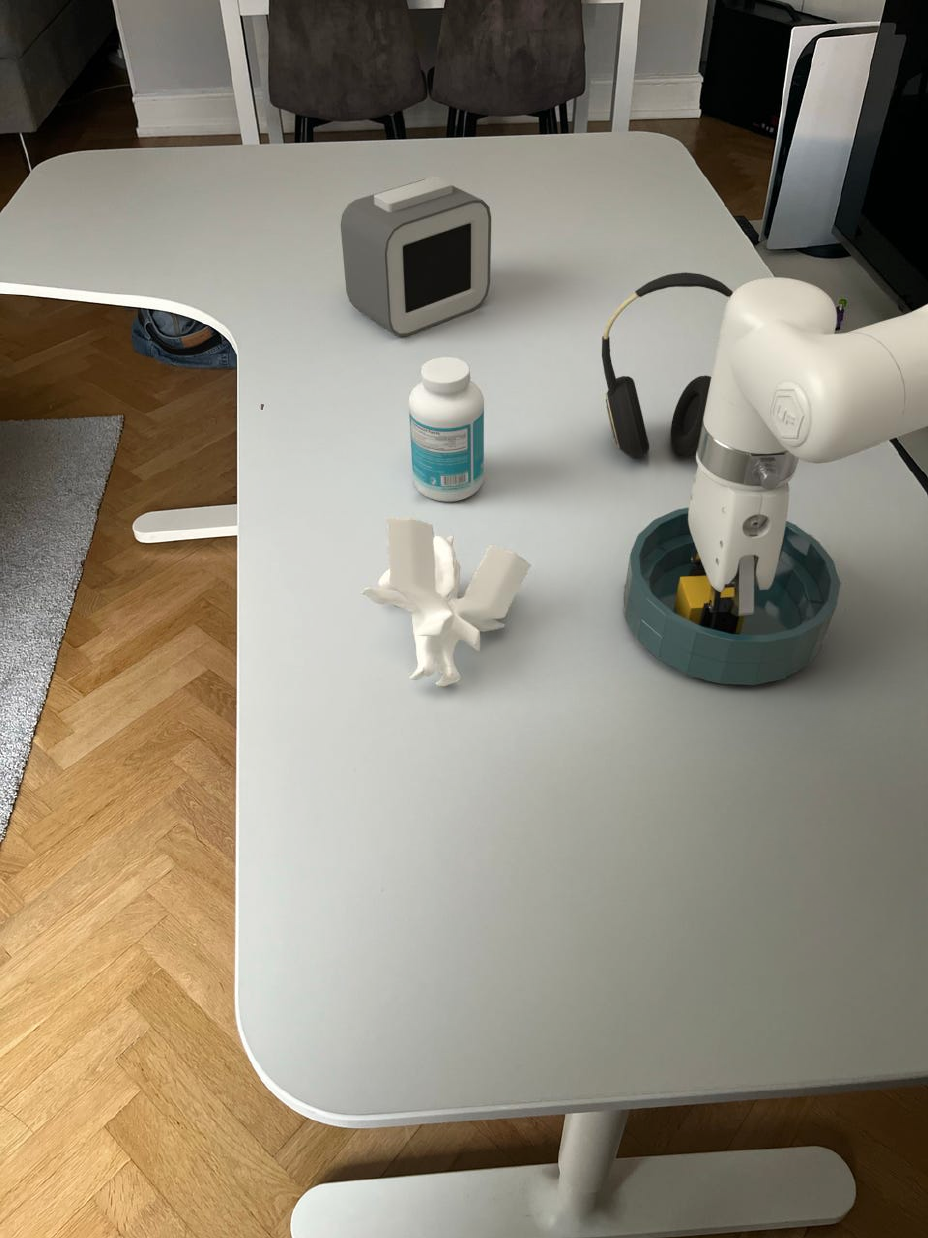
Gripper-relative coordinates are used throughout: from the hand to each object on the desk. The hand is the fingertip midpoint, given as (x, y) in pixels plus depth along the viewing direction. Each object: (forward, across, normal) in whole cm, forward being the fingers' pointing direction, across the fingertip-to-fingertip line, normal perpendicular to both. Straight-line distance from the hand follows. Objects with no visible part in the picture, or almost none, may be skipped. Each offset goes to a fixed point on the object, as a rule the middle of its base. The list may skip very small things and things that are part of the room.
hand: (708, 616), depth 88 cm
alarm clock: (+1, +62, +23) cm, 66 cm away
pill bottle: (+1, +23, +22) cm, 32 cm away
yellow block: (0, 0, 0) cm, 0 cm away
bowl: (+1, +1, -2) cm, 2 cm away
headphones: (+1, +27, -2) cm, 27 cm away
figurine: (+1, +1, +25) cm, 25 cm away
